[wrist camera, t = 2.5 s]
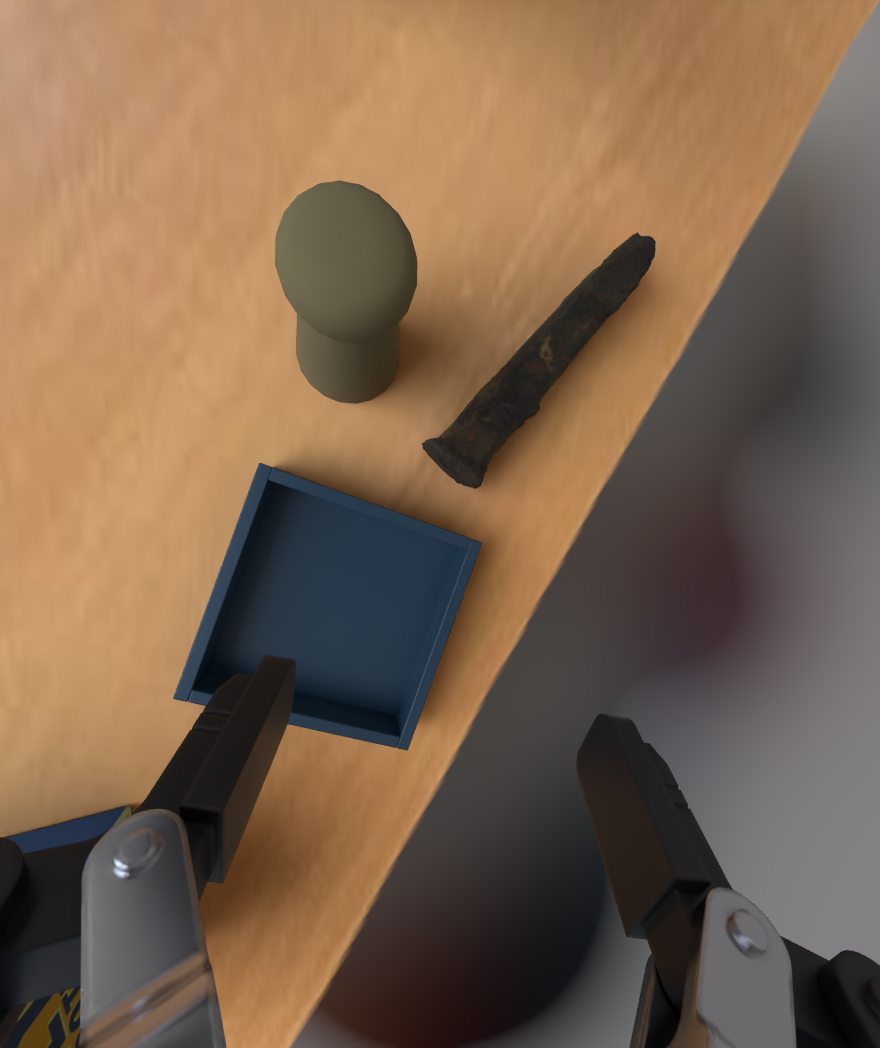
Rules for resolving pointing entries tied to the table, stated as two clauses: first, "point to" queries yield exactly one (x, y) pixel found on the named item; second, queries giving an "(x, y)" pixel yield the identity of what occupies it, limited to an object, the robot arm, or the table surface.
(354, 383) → the cork
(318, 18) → the table surface
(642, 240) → the rusty railroad spike
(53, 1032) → the protein box
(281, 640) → the caddy
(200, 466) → the table surface
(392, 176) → the table surface
